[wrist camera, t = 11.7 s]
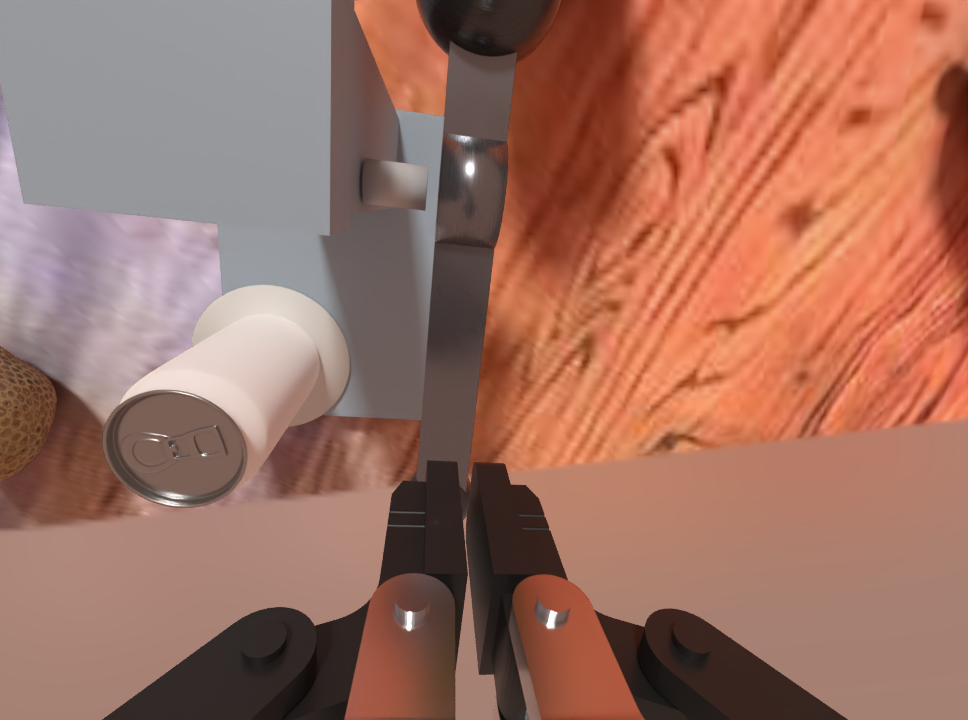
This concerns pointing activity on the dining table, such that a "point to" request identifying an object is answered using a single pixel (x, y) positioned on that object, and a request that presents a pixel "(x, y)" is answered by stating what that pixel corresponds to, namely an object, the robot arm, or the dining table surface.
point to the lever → (469, 206)
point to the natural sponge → (23, 413)
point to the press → (245, 165)
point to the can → (211, 412)
